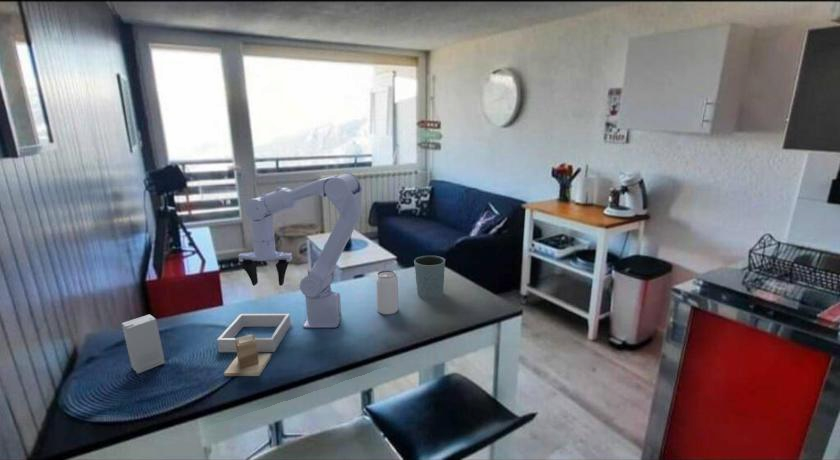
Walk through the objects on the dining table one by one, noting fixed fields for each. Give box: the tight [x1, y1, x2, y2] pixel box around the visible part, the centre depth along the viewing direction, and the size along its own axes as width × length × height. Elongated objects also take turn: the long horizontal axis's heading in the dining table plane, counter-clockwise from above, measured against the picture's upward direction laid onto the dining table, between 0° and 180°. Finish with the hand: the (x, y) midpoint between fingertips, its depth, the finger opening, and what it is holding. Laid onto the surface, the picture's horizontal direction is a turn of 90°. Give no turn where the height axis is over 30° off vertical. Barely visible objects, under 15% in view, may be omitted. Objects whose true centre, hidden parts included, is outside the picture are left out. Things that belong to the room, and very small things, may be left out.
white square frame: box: [216, 313, 292, 353], centre depth 111 cm, size 14×14×4 cm
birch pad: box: [223, 353, 272, 377], centre depth 99 cm, size 8×8×1 cm
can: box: [375, 269, 399, 316], centre depth 125 cm, size 6×6×12 cm
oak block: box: [234, 333, 259, 369], centre depth 98 cm, size 4×4×6 cm
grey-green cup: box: [413, 255, 446, 300], centre depth 137 cm, size 10×10×12 cm
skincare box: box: [121, 314, 166, 375], centre depth 97 cm, size 6×4×12 cm
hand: (268, 284), depth 120 cm, fingers open, 7 cm apart
